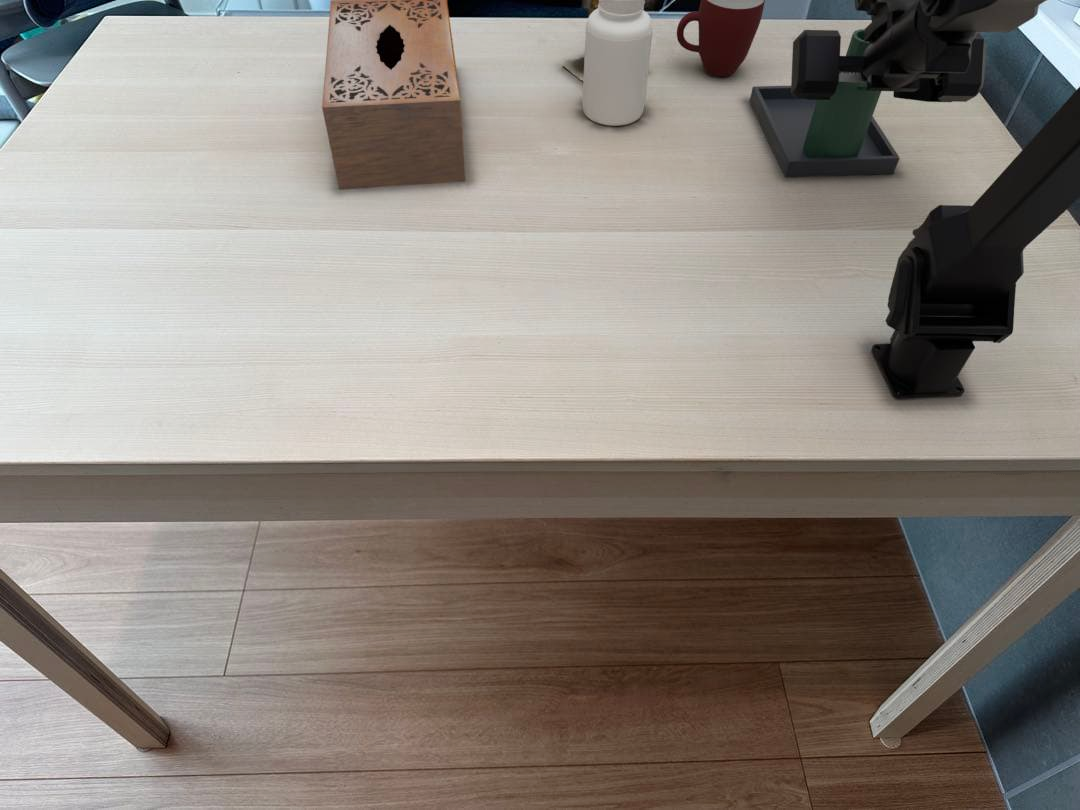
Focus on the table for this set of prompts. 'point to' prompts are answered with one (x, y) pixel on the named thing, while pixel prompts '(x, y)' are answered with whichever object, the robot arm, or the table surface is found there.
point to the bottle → (842, 114)
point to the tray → (788, 131)
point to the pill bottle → (616, 61)
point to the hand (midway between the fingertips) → (854, 91)
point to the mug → (723, 33)
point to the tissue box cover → (392, 94)
